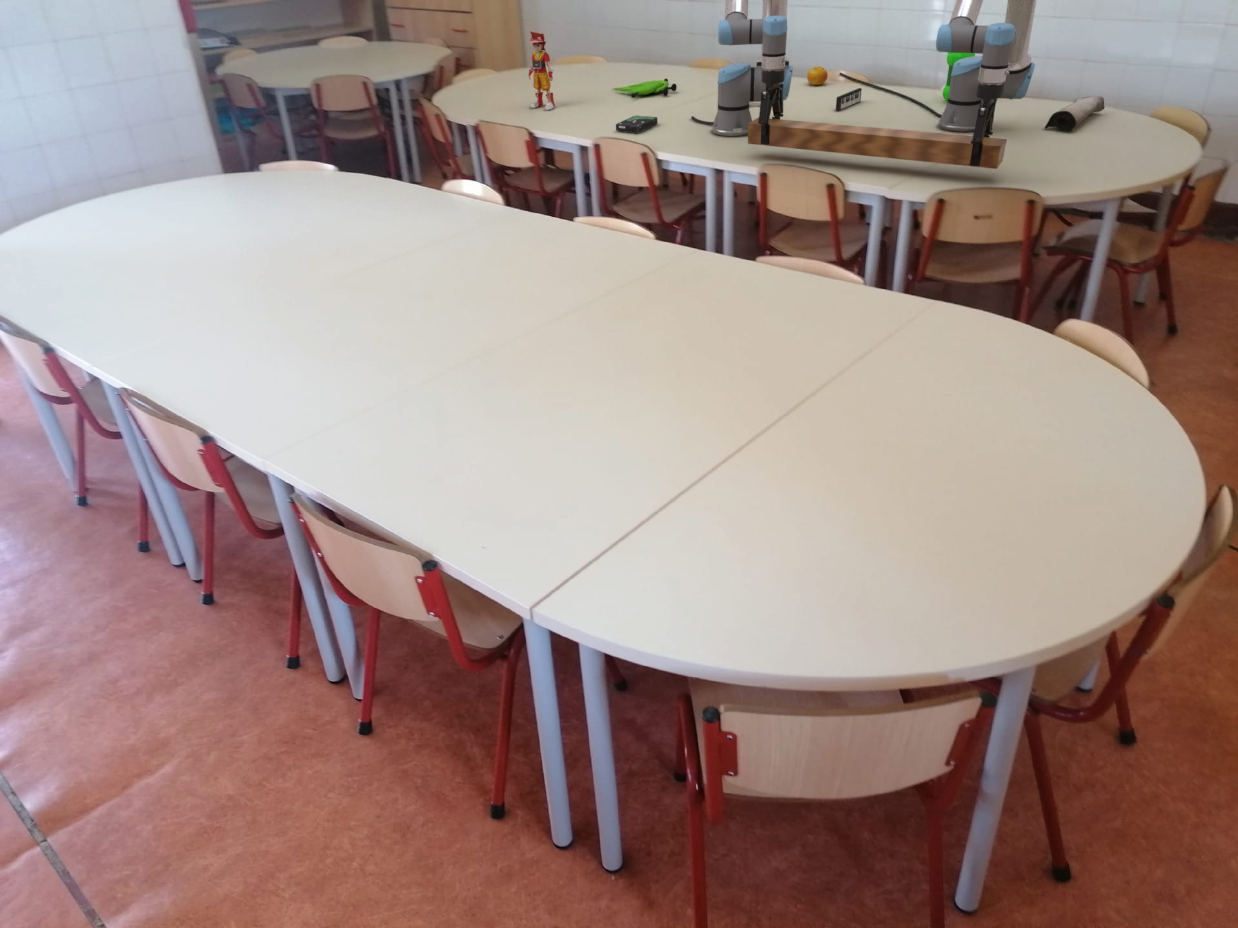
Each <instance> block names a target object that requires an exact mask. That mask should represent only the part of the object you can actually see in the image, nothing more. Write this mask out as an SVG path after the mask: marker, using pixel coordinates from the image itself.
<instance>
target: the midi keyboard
mask: <svg viewBox="0 0 1238 928" xmlns="http://www.w3.org/2000/svg"><path fill="white" fill-rule="evenodd" d="M862 90H863V89H862V87H859V88H856V89H853V90H851V91H849V92H846V93H843V94H841V95H839V96H836V102H835V111H838V112H839V111H841V110H843V109H845V108H848V107H850V106H852V105H854V104H857V103H859V102H861V99H862Z"/></svg>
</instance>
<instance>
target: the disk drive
mask: <svg viewBox="0 0 1238 928" xmlns="http://www.w3.org/2000/svg"><path fill="white" fill-rule="evenodd" d="M657 124H658V116H650V115H648V116H647V115H646V116H645V115H638V114H637V115H633V116H631V117H628V118H626V119H624V120H621V121H619V122H617V123H615V130H616V131H617V132H624V133H634V134H639V133H642V132H644V131H646V130H647V129H649V128H650V129H651V128H653V127H654V126H656V125H657Z"/></svg>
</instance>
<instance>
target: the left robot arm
mask: <svg viewBox="0 0 1238 928" xmlns="http://www.w3.org/2000/svg"><path fill="white" fill-rule="evenodd" d="M788 1H789V0H762V18H753V19H752V18H751V19H750V18H748V16H749V15H748V14H749V0H725V6H724V8H725V9H724V19H722V20H719V21H718V25H717V26H718V27H717V28H718V29H717V41H718V44H719V45H721V46H745V45H760V46H761V47H760V48H761V51H760V57H759V59H757V61H756V66H753V67H752V65H751V63H750V62H747V61H746V62H735V63H730V64H727V65H724V66H722V67H720V69H719V70H718V75H717V111H716V114H715V118H714V120H713V121H706V120H702V119H698V118H696V117H695V116H693V115H692V116H691V117H690V118H691V119H692V120H693V121H695V122H697V123H699V124H704V125H708V126H709V125H710V126H712V133H713V134H715V135H717V136H721V137H741V136H746V135H747V136H748V123H750V122H752V121H753V118H752V115H751V111H750V106H749V102H761V104H760V105H759V113H758V117H759V122H758V123H759V124H761V144H766V145H768V144H769V132H770V124H769V119H781V118H784V101H786V100H787V99H788V98H789V94H790V89H791V85H792V84H791V83H792V77H793V71H794V67H793V66H792V65H790V60H789V59H788V57H787V56H786V51H787V35H788ZM771 113H772V117H771Z"/></svg>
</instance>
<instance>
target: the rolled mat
mask: <svg viewBox="0 0 1238 928" xmlns="http://www.w3.org/2000/svg"><path fill="white" fill-rule="evenodd" d="M1105 107H1106V106H1105V98H1104V97H1103V96H1097V95H1089V96H1084V97H1079V98H1076V99H1075V100H1074V101H1073V102H1072V103H1071V104H1068V105H1067V106H1065V107H1062V108H1060V109H1059V110H1057V111H1055V112H1054V113H1053V114H1051V115H1050V117H1049V119H1048V121H1047V122H1046V124H1045V126H1044V130H1047V129H1049V128H1056V129H1057V130H1058V131H1061V132H1068V133H1069V132H1072V131H1073V130H1074V129H1076V128H1077V126H1079V125H1080V124H1081V122H1082V121H1084V120H1085V119H1086V118H1087V117H1089V116H1090V115H1091V114H1094V113H1099V112H1102V111H1104V110H1105Z"/></svg>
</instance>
